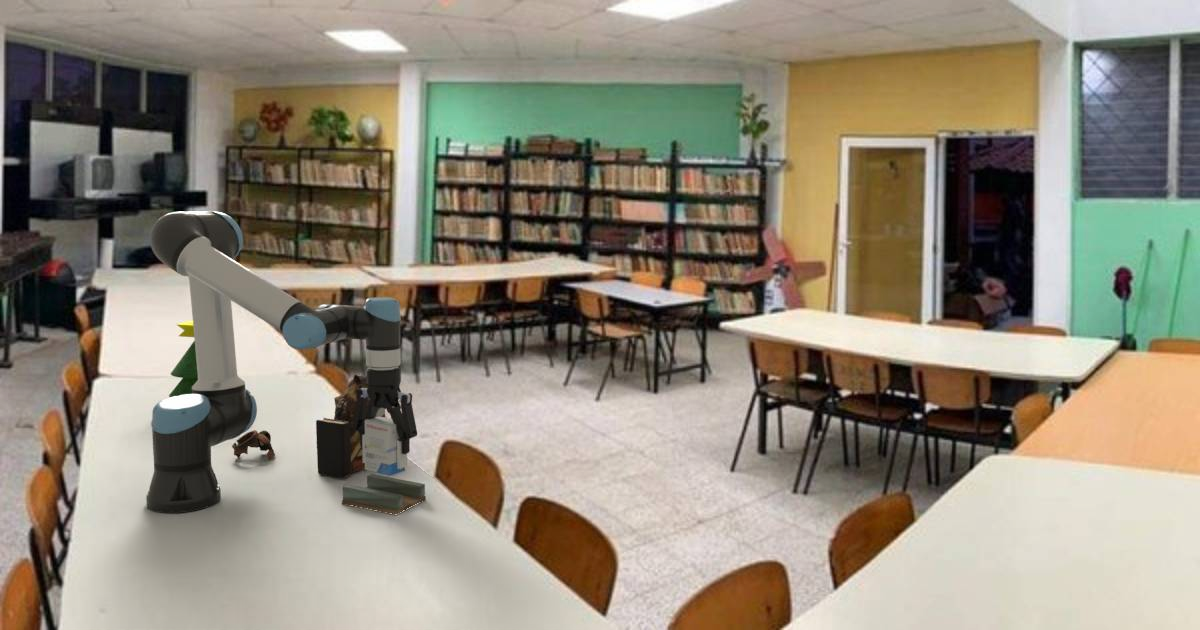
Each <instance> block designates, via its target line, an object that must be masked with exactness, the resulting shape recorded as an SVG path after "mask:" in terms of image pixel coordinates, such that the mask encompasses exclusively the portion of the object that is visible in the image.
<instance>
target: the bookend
mask: <svg viewBox="0 0 1200 630" xmlns="http://www.w3.org/2000/svg"><path fill="white" fill-rule="evenodd" d="M364 387H366V388H368V384H367V376H366V374H365V375H358V374H354V376H353V378H352V379H351V380H349V382H348V385H347V388H346V389H345V391H344V392H343V394H344V396H343V397H342V399H340V401H339V403H338V404H337V405H336V406H335V407H334V408H335V409H334V416H333V418H326V417H323V419H321V420H320V419H316V420H315V427H316V428H315V432H316V433H315V434H316V454H317V455H316V458H317V460H316V461H317V474H318V475H322V476H327V477H328V476H329V477H333V478H346V477H349V476H351V475H352V473H356V472H358V471H360V470H365V463H363V449H362V447H361V446H360V434H359V432H358V431H356V430H353V429H352V425H353V420H354V414H355V408H356V402H357V395H356V390H357V389H361V388H364ZM369 402H370V397H369V395H368V402H367V407H368V404H369ZM367 407H366V412H367V409H368V408H367ZM365 414H366V413H365Z"/></svg>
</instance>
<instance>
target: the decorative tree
mask: <svg viewBox="0 0 1200 630" xmlns="http://www.w3.org/2000/svg"><path fill="white" fill-rule="evenodd" d="M175 325H176V326H177V327H180V329H182V330H183V332H181V333H180V334H179V335H178V337H181V338H182V337H185V338H194V328H193V320H190V321H186V322H180V323H177V324H175ZM170 375H171V376H172V377H176V378H181V380H180V381H179V382H178V383H177V385H176V386H175V387H174V389H173V390H172V391H171V392H170V393H169V394H168V398H169V397H173V396H180V395H183V394H192V386H193V385H194V384H195V383H196V382H197V380H198V372H197V361H196V350H195V339H194V340H193V342H192V343H191V344H190V346H189V347H188V348H187V350H186V351H185V353H184V354H183V356H182V357H181V358H180V359H179V361H178V363H177V364H176V366H175V367H174V368H173V370H172V371H171V372H170Z"/></svg>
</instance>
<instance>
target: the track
mask: <svg viewBox="0 0 1200 630" xmlns="http://www.w3.org/2000/svg"><path fill="white" fill-rule="evenodd" d="M366 477H367V478H366V487H364V486H363V487H362V486H357V485H352V484H345V485H343V486H342V499H341V504H342V505H344V504H347V505H346V506H349V505H353V506H352V507H354V506H357V507H356V508H359V507H362V508H361V509H363V508H368V509H372V510H371V511H373V510H377V511H376V512H378V511H381V512H380V513H383V512H387V513H392V514H398V513H400V512H402V511H403V510H406V509H407V508H409V507H411V506H413V505H415V504H417V503H419V502H421V503H423V502H425V501H426V499H427V498H426V495H425V494H426V486H425V485H426V484H425V483H421V482H416V481H411V480H405V479H399V478H396V477H391V476H390V477H389V476H384V475H379V474H374V473H371V474H368V475H367V476H366ZM424 500H425V501H424ZM422 501H423V502H422ZM368 509H367V510H368ZM406 511H407V510H406ZM387 513H386V514H387ZM402 513H403V512H402ZM392 514H391V515H392ZM400 514H401V513H400ZM398 515H399V514H398Z"/></svg>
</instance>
